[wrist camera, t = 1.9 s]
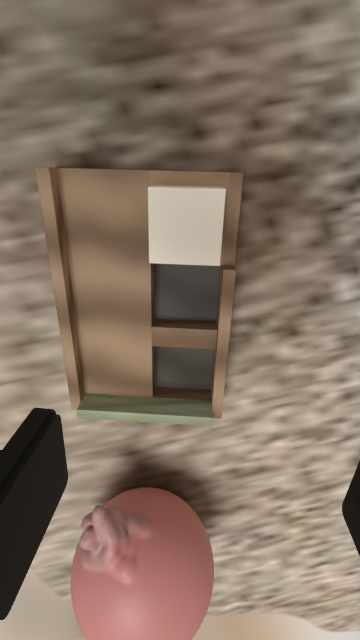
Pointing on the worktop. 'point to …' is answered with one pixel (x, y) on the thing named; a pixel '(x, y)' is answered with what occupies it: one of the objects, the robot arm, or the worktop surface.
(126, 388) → the box
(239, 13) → the worktop surface
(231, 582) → the worktop surface
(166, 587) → the balloon
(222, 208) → the block
